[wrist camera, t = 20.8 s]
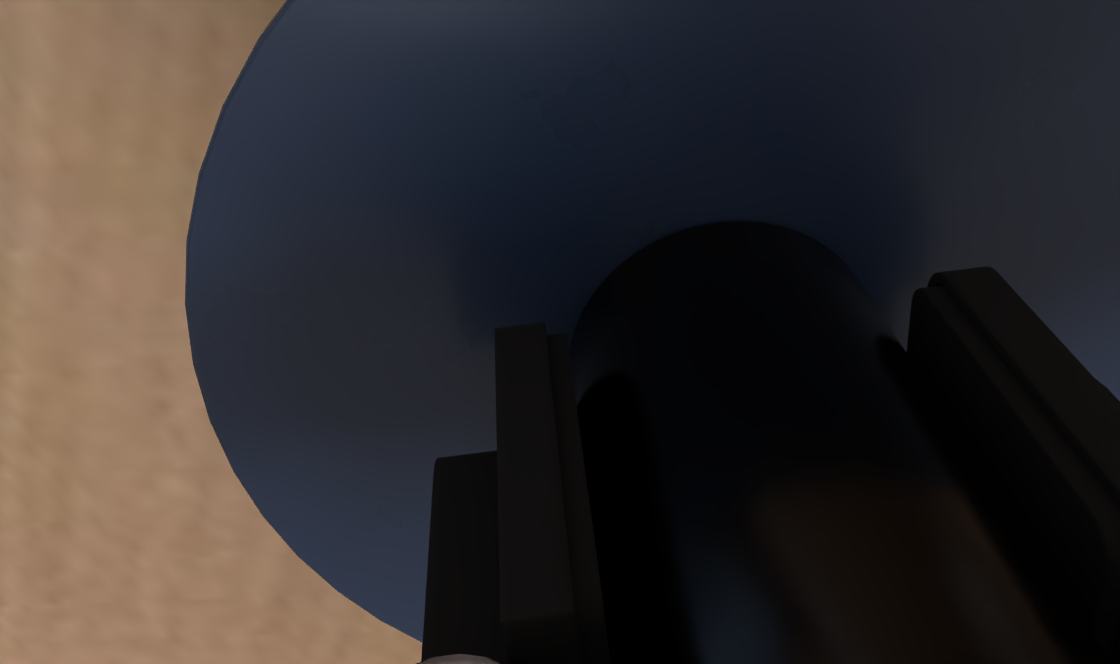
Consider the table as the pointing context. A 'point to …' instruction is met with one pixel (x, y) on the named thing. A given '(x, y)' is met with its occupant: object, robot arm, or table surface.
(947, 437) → the lid
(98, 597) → the table surface
